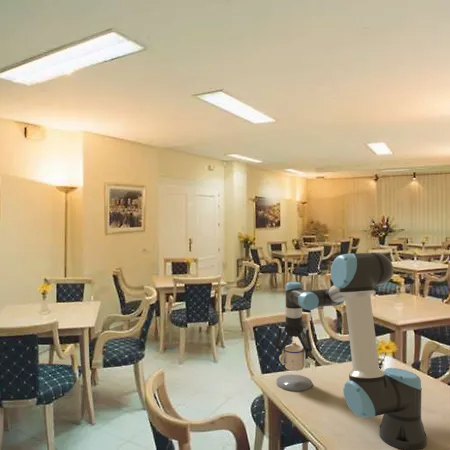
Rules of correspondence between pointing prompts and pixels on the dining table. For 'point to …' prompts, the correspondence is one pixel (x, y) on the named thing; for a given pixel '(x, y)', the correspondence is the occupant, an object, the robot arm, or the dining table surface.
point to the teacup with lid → (293, 357)
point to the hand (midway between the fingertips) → (293, 364)
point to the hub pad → (294, 382)
